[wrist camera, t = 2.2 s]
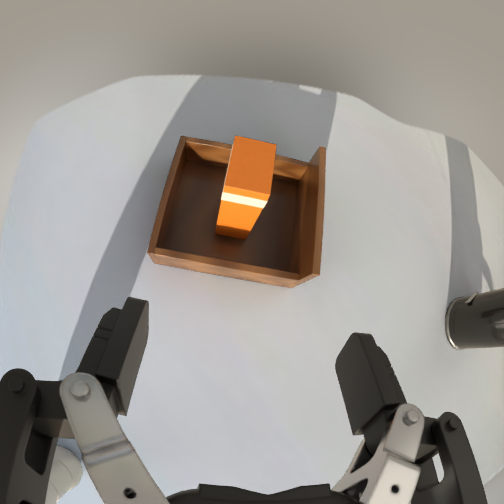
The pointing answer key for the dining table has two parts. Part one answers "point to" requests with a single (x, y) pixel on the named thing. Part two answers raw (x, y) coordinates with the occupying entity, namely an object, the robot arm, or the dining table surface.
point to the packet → (245, 186)
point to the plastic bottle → (63, 474)
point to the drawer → (262, 233)
